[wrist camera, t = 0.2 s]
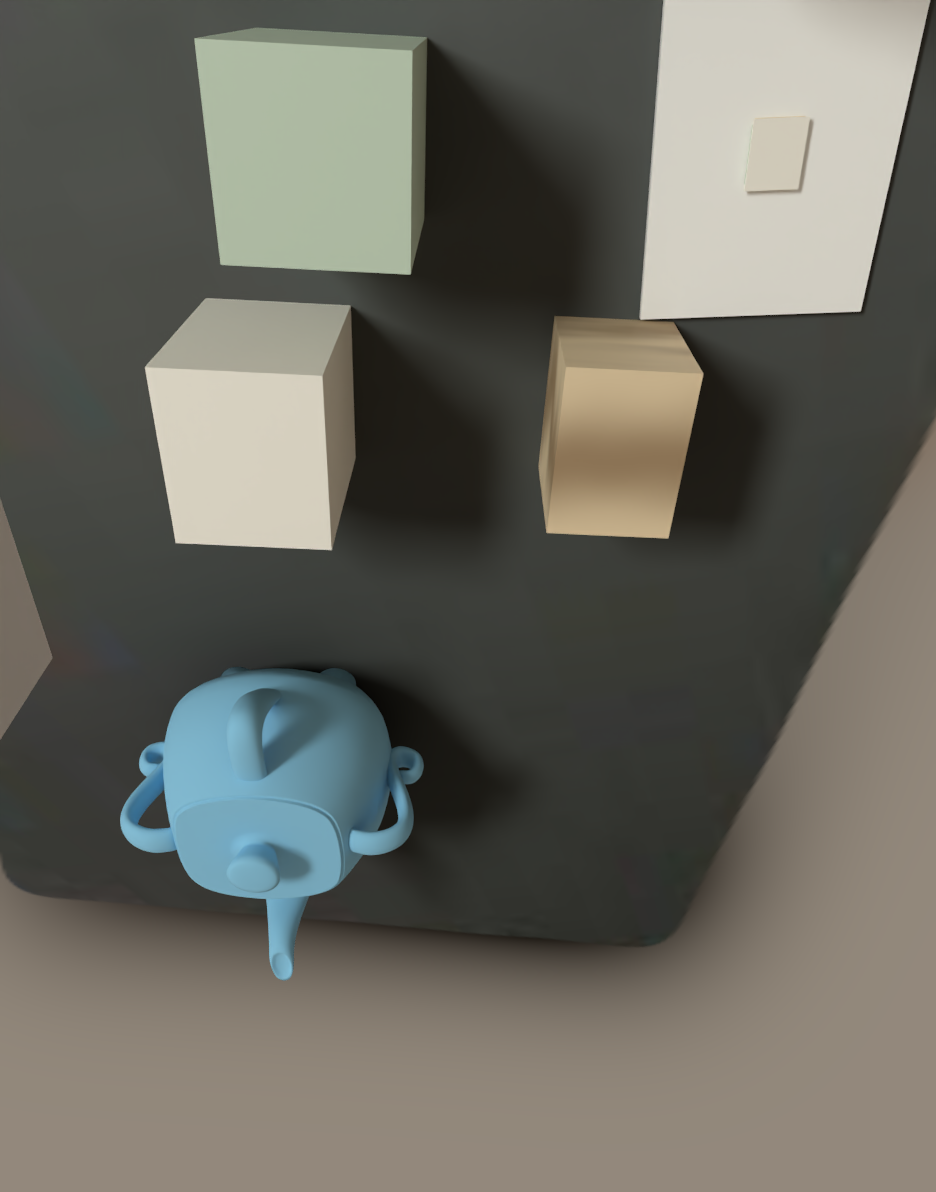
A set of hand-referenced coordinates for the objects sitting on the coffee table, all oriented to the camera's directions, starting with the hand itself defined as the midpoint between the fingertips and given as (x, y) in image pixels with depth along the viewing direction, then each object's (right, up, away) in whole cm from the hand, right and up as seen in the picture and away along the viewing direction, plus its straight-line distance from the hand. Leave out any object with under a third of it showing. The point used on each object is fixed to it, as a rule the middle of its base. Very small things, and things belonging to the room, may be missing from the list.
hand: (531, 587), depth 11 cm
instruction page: (+11, +16, +21) cm, 29 cm away
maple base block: (+5, +9, +27) cm, 29 cm away
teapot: (-11, -8, +39) cm, 41 cm away
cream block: (-9, +9, +27) cm, 30 cm away
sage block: (-5, +17, +21) cm, 28 cm away
